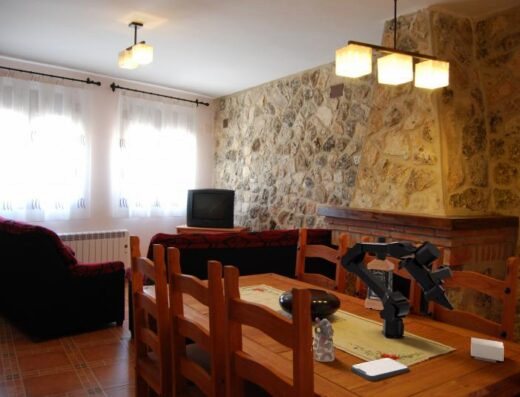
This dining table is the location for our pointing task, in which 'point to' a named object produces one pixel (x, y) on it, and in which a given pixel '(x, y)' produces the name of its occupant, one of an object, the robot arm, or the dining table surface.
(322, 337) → the figurine
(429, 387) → the dining table surface
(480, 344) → the white rectangular block
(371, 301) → the whiskey bottle
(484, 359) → the rubber mat
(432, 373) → the dining table surface
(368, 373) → the phone case
